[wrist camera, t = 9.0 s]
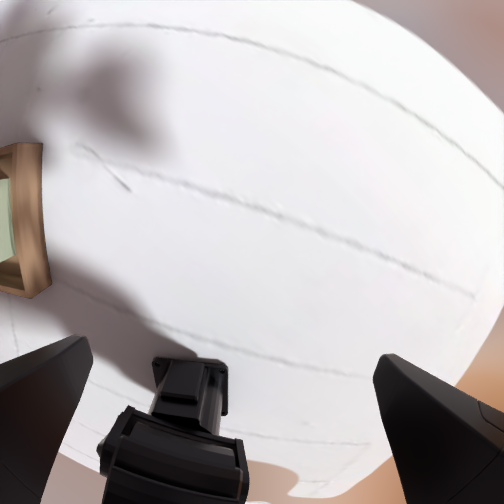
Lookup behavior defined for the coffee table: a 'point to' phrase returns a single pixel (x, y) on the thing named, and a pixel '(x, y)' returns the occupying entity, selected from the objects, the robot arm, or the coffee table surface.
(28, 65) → the coffee table surface
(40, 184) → the big crate
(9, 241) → the small crate
